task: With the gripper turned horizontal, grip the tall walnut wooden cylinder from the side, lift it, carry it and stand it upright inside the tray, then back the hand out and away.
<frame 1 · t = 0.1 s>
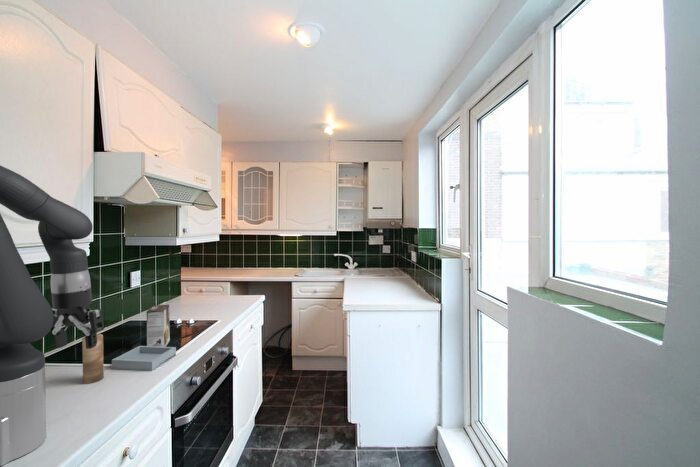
hand: (76, 347, 77), 17 cm above the worktop, tool pointing down, fingers open, 8 cm apart
walnut dowel: (93, 379, 93), on the worktop
tray: (145, 361, 105), on the worktop
coffee box: (158, 346, 120), on the worktop
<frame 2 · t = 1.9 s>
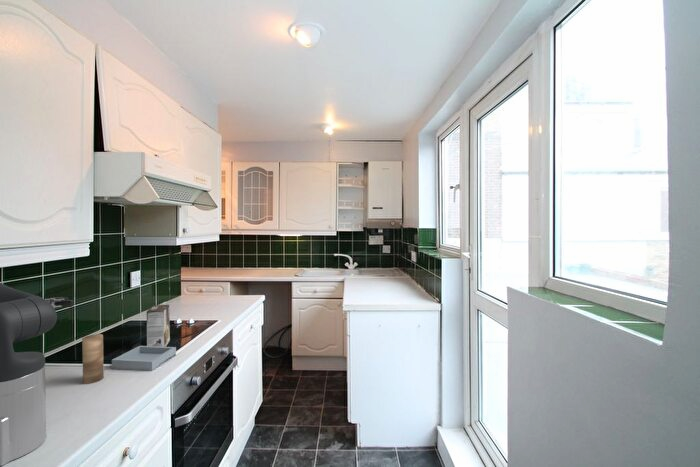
hand: (58, 307, 93), 23 cm above the worktop, tool horizontal, fingers open, 8 cm apart
nothing on the worktop moved.
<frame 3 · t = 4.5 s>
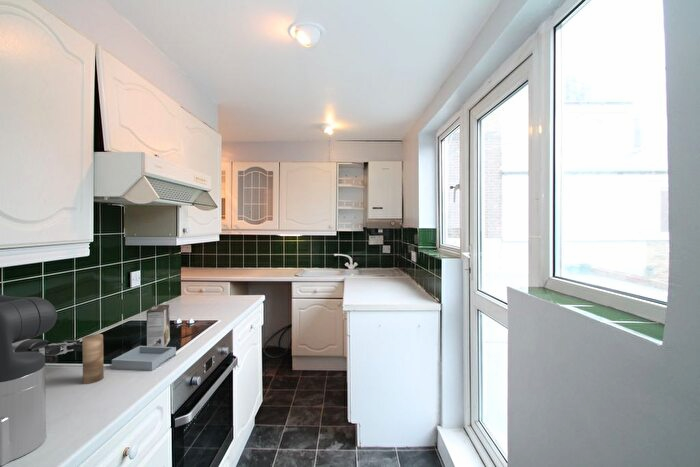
hand: (71, 352, 93), 8 cm above the worktop, tool horizontal, fingers open, 8 cm apart
nothing on the worktop moved.
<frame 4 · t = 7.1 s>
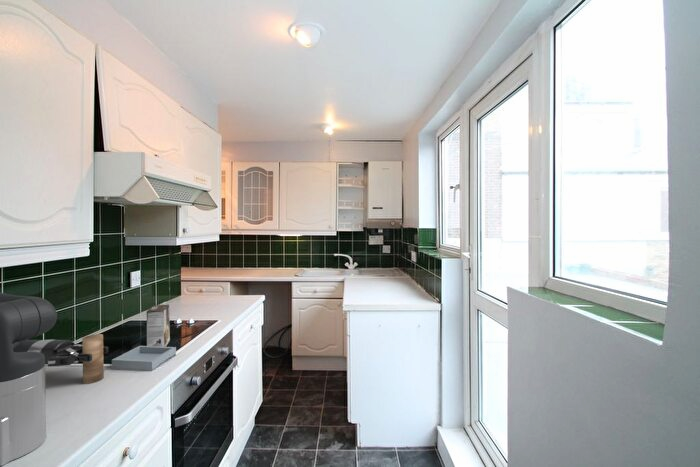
hand: (99, 354, 92), 9 cm above the worktop, tool horizontal, fingers closed on walnut dowel, 5 cm apart
walnut dowel: (93, 379, 93), on the worktop, touching gripper
everything else where it was.
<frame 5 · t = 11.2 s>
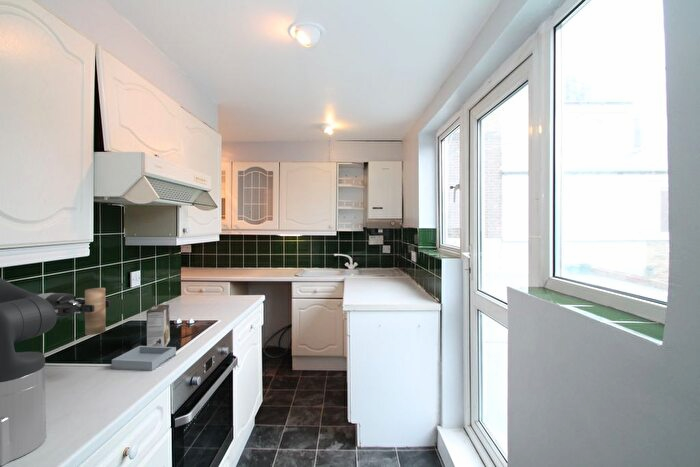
hand: (101, 306, 93), 24 cm above the worktop, tool horizontal, fingers closed on walnut dowel, 5 cm apart
walnut dowel: (95, 332, 93), point 15 cm above the worktop, touching gripper
everything else where it was.
when the fingers open (11 cm above the worktop, at t = 15.6 s): walnut dowel drops 1 cm, resting on tray.
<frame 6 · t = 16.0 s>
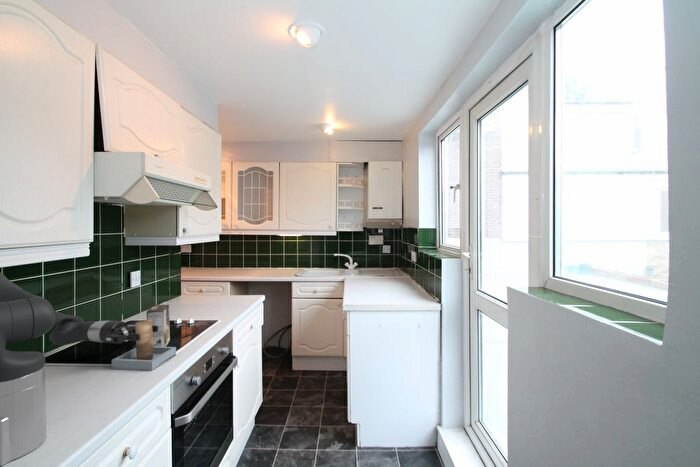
hand: (148, 332, 105), 11 cm above the worktop, tool horizontal, fingers open, 8 cm apart
walnut dowel: (145, 359, 105), point 1 cm above the worktop, touching tray
everything else where it was.
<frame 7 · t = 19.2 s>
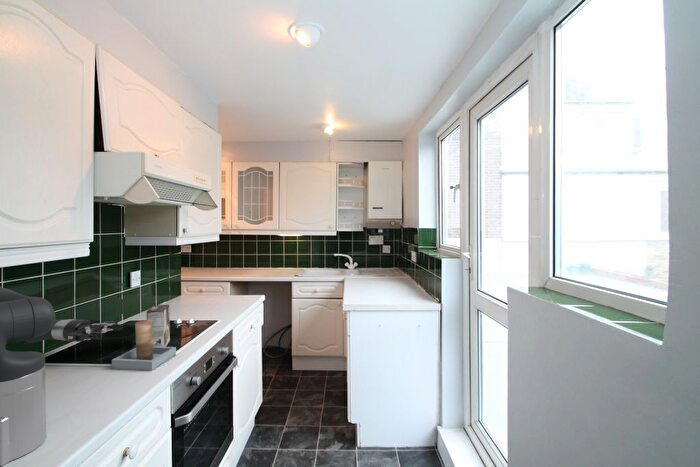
hand: (112, 331, 106), 11 cm above the worktop, tool horizontal, fingers open, 8 cm apart
nothing on the worktop moved.
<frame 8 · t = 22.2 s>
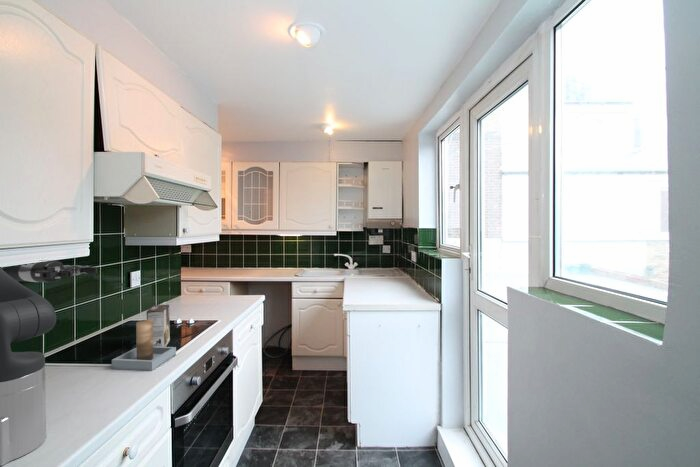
hand: (84, 272, 99), 34 cm above the worktop, tool horizontal, fingers open, 8 cm apart
nothing on the worktop moved.
at the end: walnut dowel inside the target area on the tray (0.1 cm from its centre), point 0.9 cm above the tray's base; walnut dowel tilted 2°; the gripper is holding nothing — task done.
